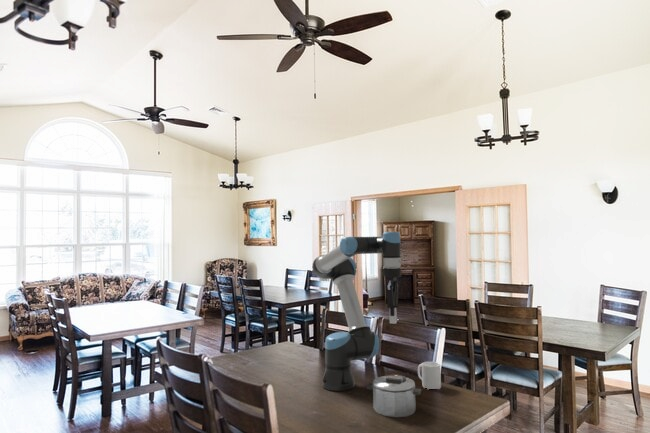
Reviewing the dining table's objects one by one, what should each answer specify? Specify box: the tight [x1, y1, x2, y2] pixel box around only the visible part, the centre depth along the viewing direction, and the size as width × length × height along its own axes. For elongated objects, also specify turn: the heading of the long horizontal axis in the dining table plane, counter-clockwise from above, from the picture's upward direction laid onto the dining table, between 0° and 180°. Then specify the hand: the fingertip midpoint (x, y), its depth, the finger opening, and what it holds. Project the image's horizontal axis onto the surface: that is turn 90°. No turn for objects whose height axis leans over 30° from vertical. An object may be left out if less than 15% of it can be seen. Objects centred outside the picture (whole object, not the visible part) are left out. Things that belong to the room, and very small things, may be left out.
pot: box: [366, 383, 422, 418], centre depth 163 cm, size 21×17×9 cm
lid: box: [372, 374, 416, 392], centre depth 164 cm, size 16×17×2 cm
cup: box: [417, 361, 442, 390], centre depth 188 cm, size 8×12×10 cm
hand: (393, 323), depth 176 cm, fingers closed
